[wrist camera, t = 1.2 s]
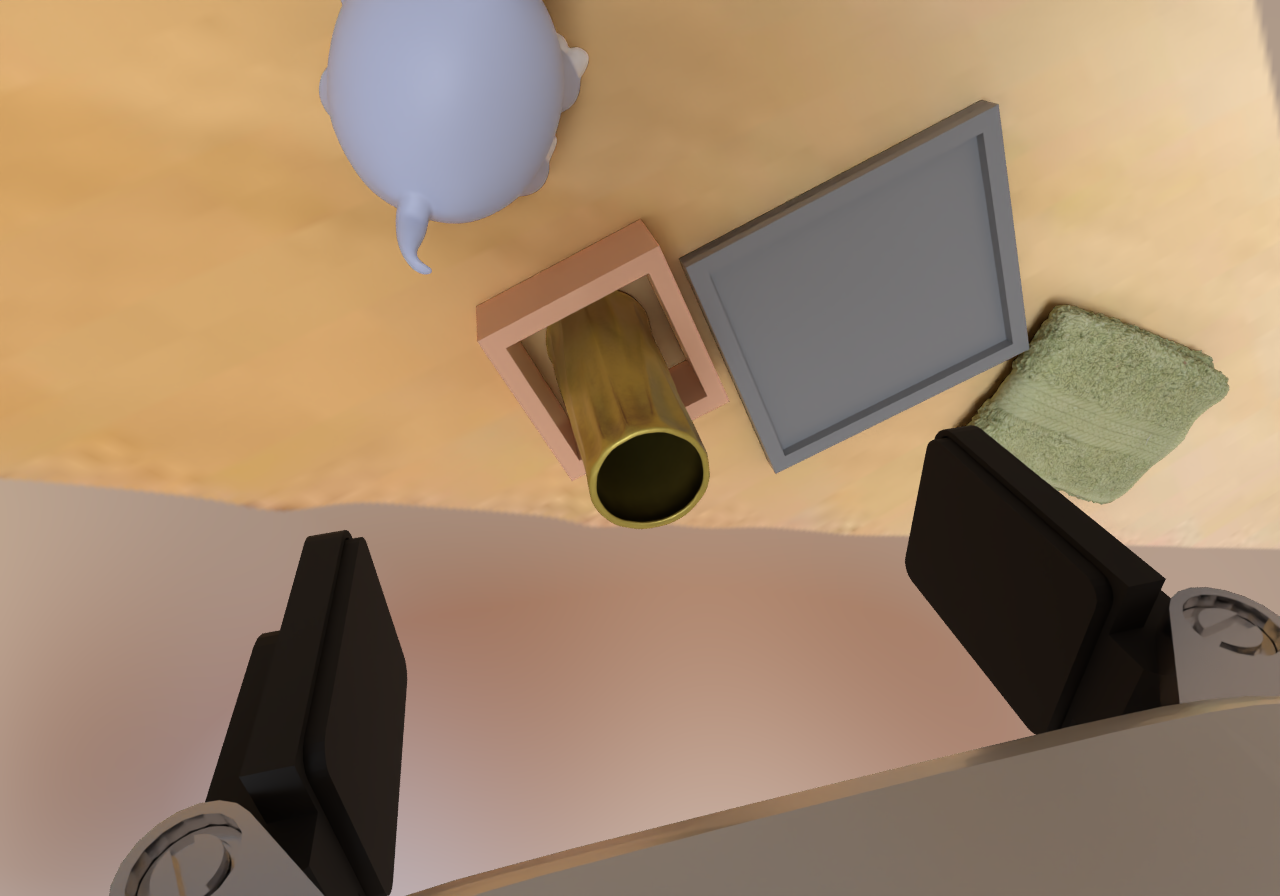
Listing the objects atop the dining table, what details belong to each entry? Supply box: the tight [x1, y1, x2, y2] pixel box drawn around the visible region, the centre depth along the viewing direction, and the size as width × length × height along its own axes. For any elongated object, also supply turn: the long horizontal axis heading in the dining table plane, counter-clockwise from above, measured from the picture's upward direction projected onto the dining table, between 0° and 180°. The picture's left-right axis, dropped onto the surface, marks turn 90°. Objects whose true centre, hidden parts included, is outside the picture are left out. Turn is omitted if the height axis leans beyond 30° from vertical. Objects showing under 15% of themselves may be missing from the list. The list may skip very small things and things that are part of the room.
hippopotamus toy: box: [319, 0, 589, 274], centre depth 28 cm, size 11×15×10 cm
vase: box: [546, 290, 710, 529], centre depth 36 cm, size 6×6×14 cm
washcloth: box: [966, 305, 1229, 505], centre depth 50 cm, size 13×18×3 cm
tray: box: [679, 100, 1029, 473], centre depth 43 cm, size 18×16×2 cm
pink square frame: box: [476, 219, 730, 481], centre depth 40 cm, size 10×10×4 cm
